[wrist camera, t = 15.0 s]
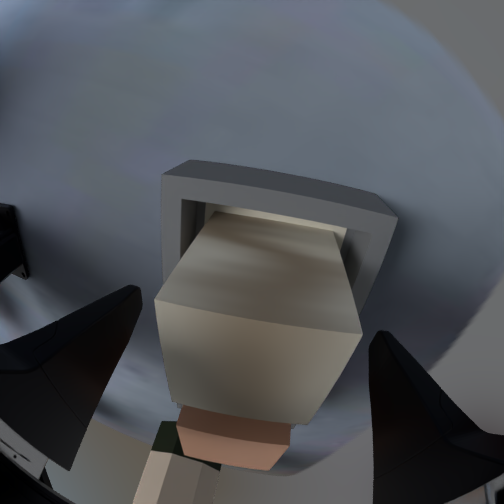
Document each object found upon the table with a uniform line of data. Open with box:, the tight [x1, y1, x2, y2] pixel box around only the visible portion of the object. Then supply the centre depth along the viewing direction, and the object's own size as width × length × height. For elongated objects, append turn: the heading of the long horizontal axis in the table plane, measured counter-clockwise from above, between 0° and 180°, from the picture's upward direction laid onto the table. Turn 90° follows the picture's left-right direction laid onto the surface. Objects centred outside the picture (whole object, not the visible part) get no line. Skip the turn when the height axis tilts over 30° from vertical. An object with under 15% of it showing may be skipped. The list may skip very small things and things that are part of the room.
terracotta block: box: [176, 405, 291, 471], centre depth 13 cm, size 5×5×6 cm
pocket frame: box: [161, 160, 398, 429], centre depth 14 cm, size 8×16×3 cm, turn 172°
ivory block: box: [154, 211, 363, 425], centre depth 10 cm, size 5×5×6 cm
